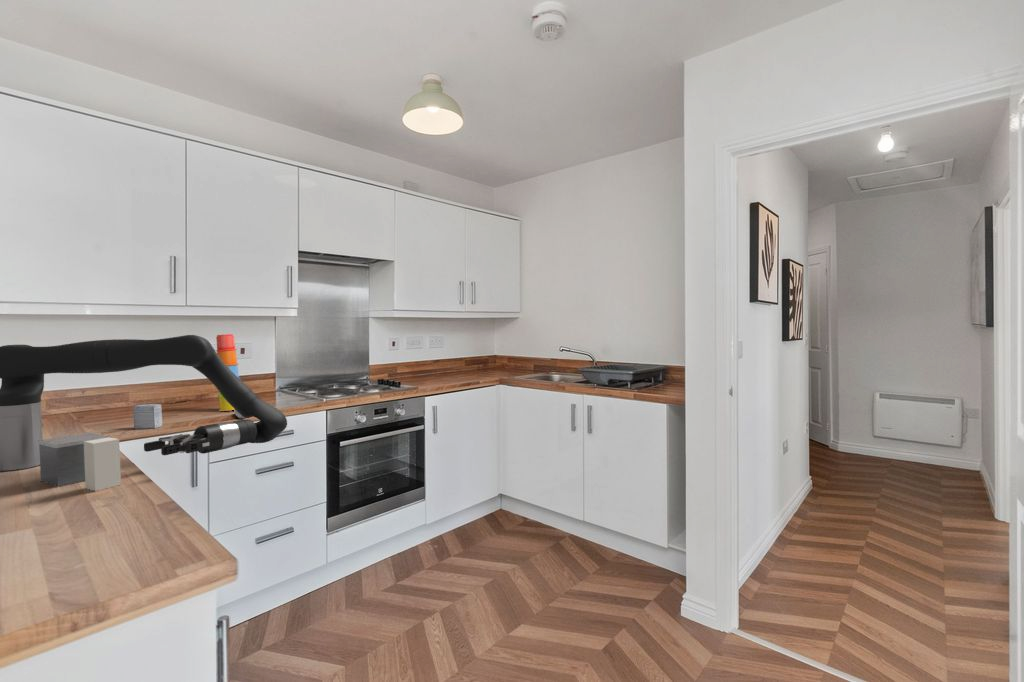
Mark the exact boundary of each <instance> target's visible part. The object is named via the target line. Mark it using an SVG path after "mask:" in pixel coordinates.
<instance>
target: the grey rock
mask: <svg viewBox="0 0 1024 682" xmlns="http://www.w3.org/2000/svg"><path fill="white" fill-rule="evenodd" d="M233 413H234V414H235V416H236V417H237V418H238V419H239V420H245V418H244V417H243V416H242V415H240V414H239V413H238V412H237V411H236V410H235V409H234V411H233Z"/></svg>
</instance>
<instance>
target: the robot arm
mask: <svg viewBox="0 0 1024 682" xmlns="http://www.w3.org/2000/svg"><path fill="white" fill-rule="evenodd" d="M151 366H186V367H192V368H193V369H195V370H197V371H198V372H199V373H200V374H202V375H203V376H204V377H206V378H207V379H208V380H209V381H210V382H211V383H212V384H213V385H214V387H215V388H216V390H217V391H218V393H219V392H220V393H221V394H222V396H223V397H224V398H225V399H226V401H227V402H228V403H229V404H230V405H231V406H232V407H233V408H234V409H235V410H236V411H237V412H238V413H239V414H240V415H242V416H243V417H244V419H239V420H234V421H233V420H232V421H223V422H217V423H212V424H205V425H200V426H198V427H196V428H195V430H194V432H193V434H190V433H186V434H185V433H184V434H177V435H172V436H166V437H159V438H158V440H154V441H149V442H148V441H147V442H145V443H144V444H143V451H144V452H152V451H157V450H158V451H159V450H161V451H160V452H161V455H162V456H169V455H174V454H178V453H180V454H184V453H185V454H191V453H194V452H198V453H200V454H203V455H205V454H208V453H212V452H218V451H222V450H227V449H230V448H233V447H237V446H241V445H245V444H263V443H264V444H265V443H267V442H268V443H269V442H271V441H273V440H274V439H276V438H277V437H278V436H279V435H280V434H281V433H282V432H284V431H285V430H286V429H287V426H288V420H287V417H286V415H285V414H284V413H283V411H281V410H279V409H278V408H277V407H274V406H273V405H271V404H270V403H267V402H266V401H264V400H262V399H261V398H260V397H259V395H257V394H256V393H255V392H254V391H253V390H252V388H250V387H249V386H248V385H247V384H245V382H244V381H243V380H241V378H240V377H239V378H240V379H239V378H238V377H237V376H236V375H235V374H234V373H233V372H232V371H231V370H230V369H229V368H228V367H227V366H226V365H225V363H224V362H223V361H222V360H221V358H220V357H219V356H218V354H217V351H216V350H215V348H214V347H213V346H212V344H211V342H210V341H209V340H208V339H207V338H205V337H203V336H200V335H196V334H187V335H186V334H185V335H181V336H180V335H178V336H173V337H167V338H166V337H165V338H158V339H138V338H137V339H134V338H133V339H130V338H128V339H126V338H125V339H124V338H123V339H121V338H120V339H119V338H118V339H117V338H116V339H114V338H113V339H99V340H89V341H87V340H86V341H80V342H72V343H67V344H66V343H65V344H61V345H59V344H58V345H51V346H50V345H49V346H32V345H30V344H29V345H28V344H6V345H1V346H0V379H1V386H0V472H3V471H4V472H5V471H15V470H16V471H17V469H18V470H23V469H29V468H33V467H38V466H40V448H39V444H38V441H39V440H44V438H43V436H44V435H43V420H42V419H43V416H42V415H43V414H42V393H43V392H44V388H45V375H48V374H102V373H103V374H104V373H119V372H125V371H126V372H127V371H130V370H136V369H137V370H138V369H141V368H146V367H151ZM252 417H254V418H255V419H258V420H259V421H256V422H255V421H253V420H251V419H249V418H252ZM166 442H168V443H167V444H166Z"/></svg>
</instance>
